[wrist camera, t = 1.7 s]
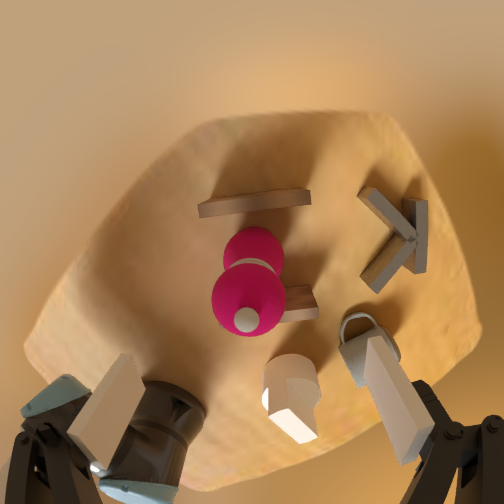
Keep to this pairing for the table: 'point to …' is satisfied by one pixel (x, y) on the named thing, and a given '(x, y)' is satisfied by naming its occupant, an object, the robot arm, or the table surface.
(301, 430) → the base with upright slab
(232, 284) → the pepper mill
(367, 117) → the table surface
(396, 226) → the letter k block
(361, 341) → the ceramic mug
